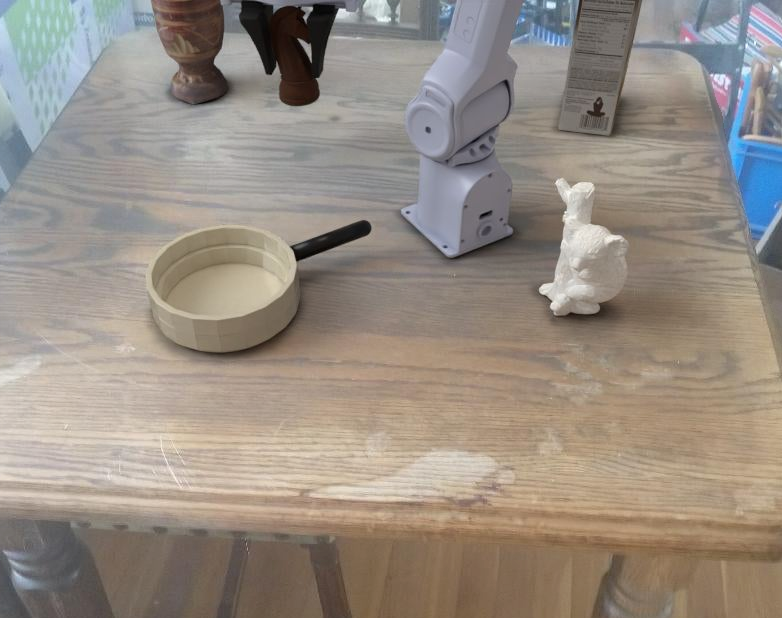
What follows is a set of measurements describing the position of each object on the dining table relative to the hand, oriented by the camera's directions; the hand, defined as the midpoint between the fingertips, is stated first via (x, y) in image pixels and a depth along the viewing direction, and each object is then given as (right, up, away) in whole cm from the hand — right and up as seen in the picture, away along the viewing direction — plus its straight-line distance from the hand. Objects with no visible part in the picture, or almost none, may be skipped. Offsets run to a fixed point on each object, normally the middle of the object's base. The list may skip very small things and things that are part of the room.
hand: (294, 72), depth 95 cm
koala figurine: (+27, -27, -14) cm, 41 cm away
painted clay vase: (-13, +6, +19) cm, 24 cm away
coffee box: (+35, -2, +9) cm, 36 cm away
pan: (-6, -27, -12) cm, 30 cm away
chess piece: (0, -2, +2) cm, 3 cm away
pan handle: (+4, -21, -10) cm, 24 cm away
